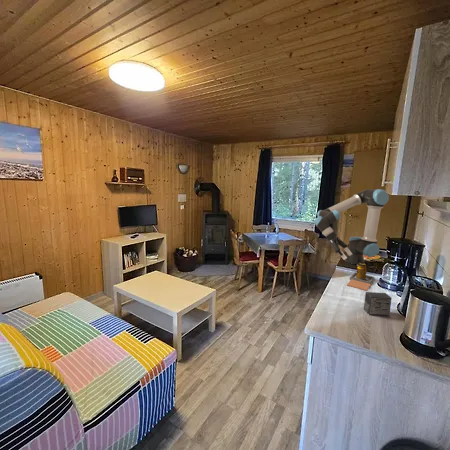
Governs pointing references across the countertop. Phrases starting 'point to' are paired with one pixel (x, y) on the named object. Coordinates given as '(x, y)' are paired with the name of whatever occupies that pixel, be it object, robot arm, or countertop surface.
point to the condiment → (361, 271)
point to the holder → (362, 280)
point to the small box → (377, 304)
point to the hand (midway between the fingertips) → (348, 256)
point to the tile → (359, 285)
